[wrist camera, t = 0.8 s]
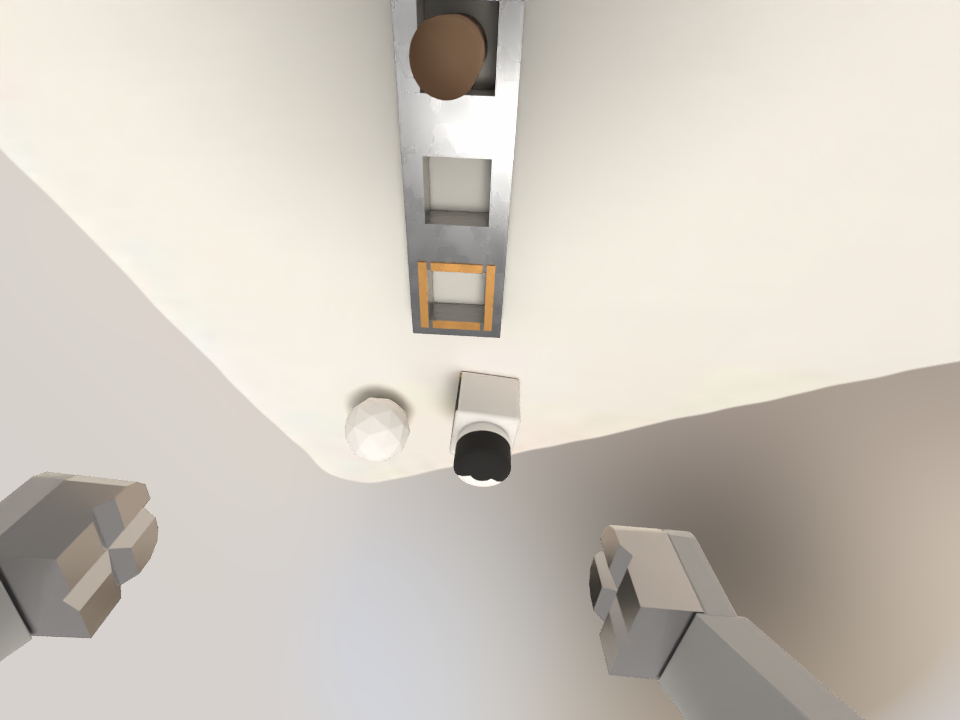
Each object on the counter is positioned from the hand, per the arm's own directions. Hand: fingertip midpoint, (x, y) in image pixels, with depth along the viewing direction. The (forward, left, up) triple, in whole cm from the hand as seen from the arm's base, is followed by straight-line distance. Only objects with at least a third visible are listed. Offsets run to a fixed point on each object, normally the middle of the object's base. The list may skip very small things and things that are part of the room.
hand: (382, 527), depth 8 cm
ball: (+30, +19, -38) cm, 52 cm away
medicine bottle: (+18, +25, -38) cm, 49 cm away
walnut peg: (-2, -5, -38) cm, 38 cm away
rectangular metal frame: (+4, +3, -38) cm, 38 cm away
